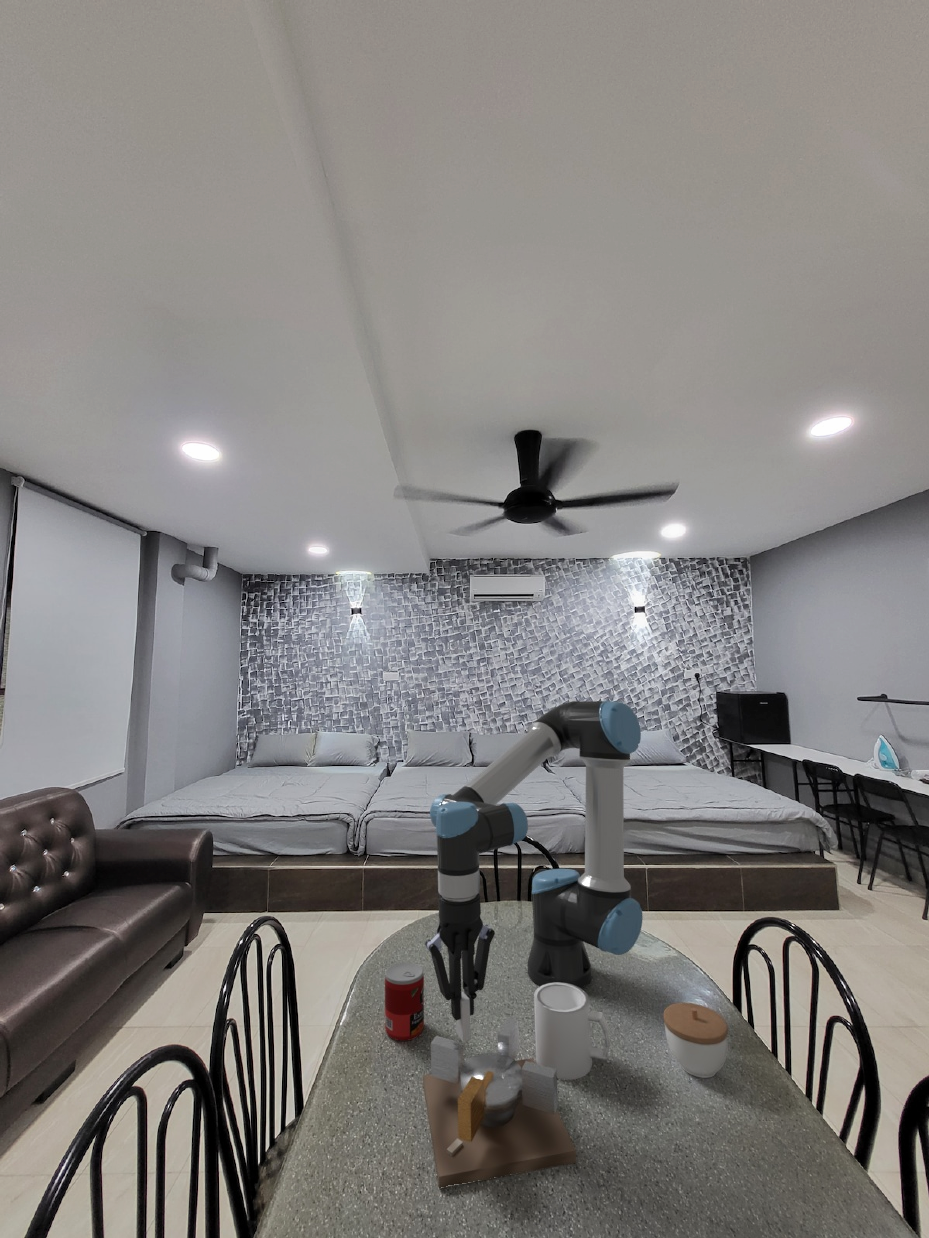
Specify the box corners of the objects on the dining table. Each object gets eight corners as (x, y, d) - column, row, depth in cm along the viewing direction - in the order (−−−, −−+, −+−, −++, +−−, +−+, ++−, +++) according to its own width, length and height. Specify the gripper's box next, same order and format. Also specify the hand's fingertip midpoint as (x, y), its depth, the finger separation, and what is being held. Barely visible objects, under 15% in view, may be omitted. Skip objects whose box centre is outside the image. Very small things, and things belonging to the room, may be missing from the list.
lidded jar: (726, 1052, 99) (722, 998, 100) (735, 1093, 89) (730, 1032, 90) (665, 1041, 103) (662, 988, 104) (666, 1079, 93) (663, 1021, 94)
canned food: (418, 1043, 103) (417, 982, 105) (379, 1039, 105) (379, 979, 106) (428, 1019, 111) (428, 963, 112) (392, 1016, 112) (392, 959, 114)
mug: (612, 1050, 100) (609, 989, 102) (609, 1088, 91) (606, 1020, 92) (540, 1037, 105) (538, 978, 106) (531, 1073, 95) (529, 1008, 96)
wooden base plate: (533, 1066, 96) (532, 1042, 97) (576, 1161, 77) (575, 1131, 77) (423, 1084, 93) (422, 1059, 93) (439, 1188, 73) (438, 1156, 74)
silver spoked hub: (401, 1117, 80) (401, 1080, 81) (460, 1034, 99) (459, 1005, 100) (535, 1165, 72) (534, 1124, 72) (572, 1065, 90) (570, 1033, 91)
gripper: (481, 880, 102) (486, 1013, 99) (417, 893, 96) (420, 1035, 93) (501, 893, 95) (506, 1036, 92) (433, 908, 89) (437, 1062, 87)
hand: (463, 1036), depth 93 cm, fingers closed
